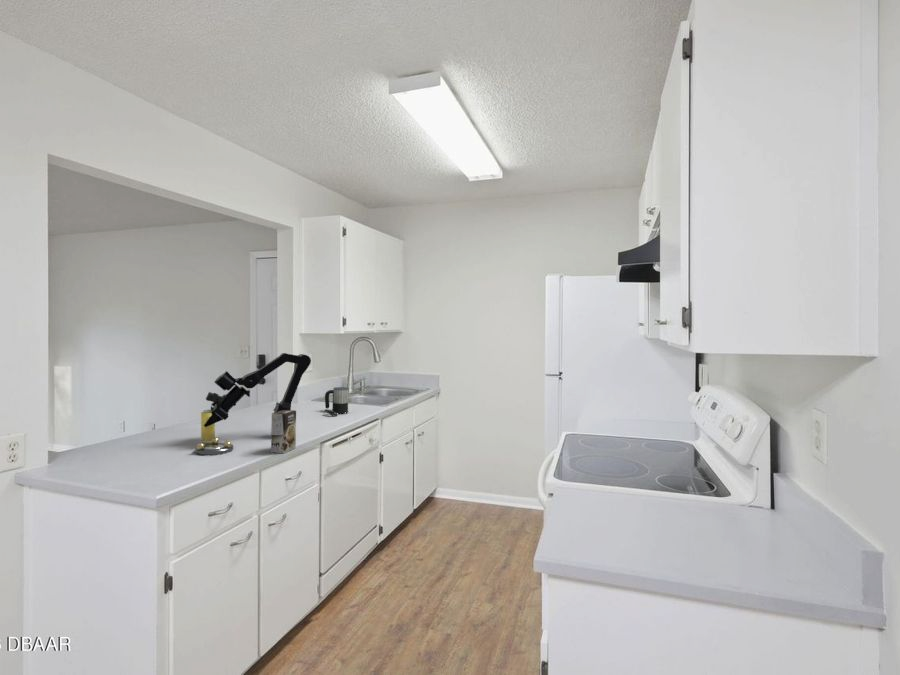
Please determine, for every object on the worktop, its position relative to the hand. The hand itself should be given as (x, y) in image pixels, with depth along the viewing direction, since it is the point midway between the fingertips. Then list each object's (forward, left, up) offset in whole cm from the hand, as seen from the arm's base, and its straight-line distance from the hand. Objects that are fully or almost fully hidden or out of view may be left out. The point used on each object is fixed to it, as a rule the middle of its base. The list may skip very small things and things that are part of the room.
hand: (204, 425), depth 205 cm
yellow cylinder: (-1, -1, -7) cm, 7 cm away
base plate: (-11, +8, -8) cm, 16 cm away
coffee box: (-37, 0, -8) cm, 38 cm away
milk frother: (-25, -79, -8) cm, 83 cm away
